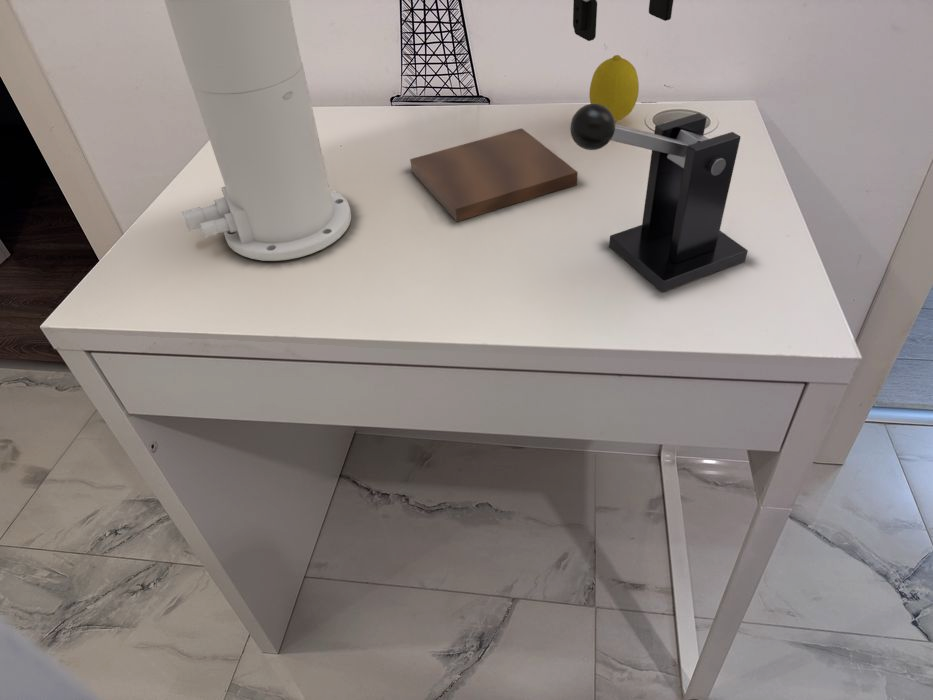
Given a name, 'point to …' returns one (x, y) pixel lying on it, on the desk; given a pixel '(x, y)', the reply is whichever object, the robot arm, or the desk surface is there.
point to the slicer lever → (625, 134)
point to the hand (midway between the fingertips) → (622, 26)
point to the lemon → (615, 86)
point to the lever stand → (684, 211)
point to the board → (492, 173)
